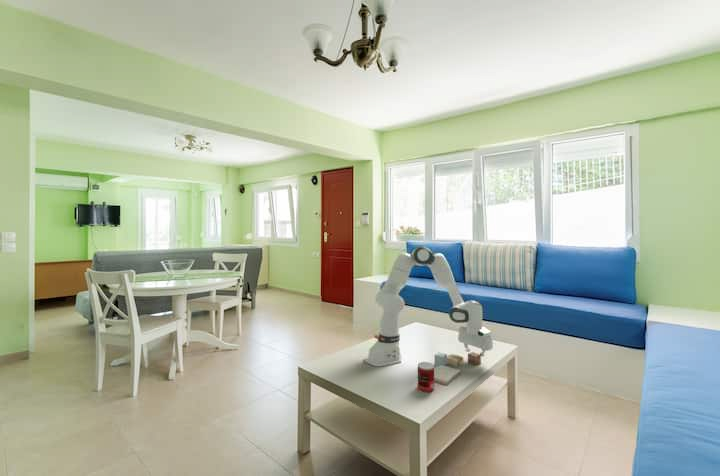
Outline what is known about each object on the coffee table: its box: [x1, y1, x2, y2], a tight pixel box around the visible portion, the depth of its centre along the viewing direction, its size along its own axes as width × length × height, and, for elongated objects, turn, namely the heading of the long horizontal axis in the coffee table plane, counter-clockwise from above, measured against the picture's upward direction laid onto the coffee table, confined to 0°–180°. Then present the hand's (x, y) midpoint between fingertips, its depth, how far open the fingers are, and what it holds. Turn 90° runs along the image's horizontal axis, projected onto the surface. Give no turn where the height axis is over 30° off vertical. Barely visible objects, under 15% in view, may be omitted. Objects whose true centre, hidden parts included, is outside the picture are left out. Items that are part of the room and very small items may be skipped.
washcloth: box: [434, 365, 461, 386], centre depth 163 cm, size 12×18×3 cm, turn 142°
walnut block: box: [467, 351, 482, 366], centre depth 181 cm, size 5×5×5 cm
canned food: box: [417, 361, 435, 393], centre depth 150 cm, size 8×8×11 cm
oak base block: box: [447, 353, 464, 368], centre depth 180 cm, size 7×7×4 cm
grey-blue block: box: [434, 351, 448, 367], centre depth 177 cm, size 5×5×6 cm
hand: (474, 353), depth 181 cm, fingers open, 8 cm apart
